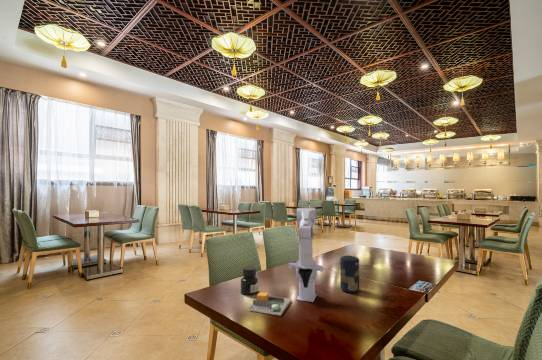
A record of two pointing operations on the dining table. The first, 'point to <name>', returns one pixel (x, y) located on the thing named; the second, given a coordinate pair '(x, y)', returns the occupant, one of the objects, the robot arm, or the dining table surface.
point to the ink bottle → (249, 281)
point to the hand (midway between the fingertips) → (305, 286)
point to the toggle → (262, 296)
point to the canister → (349, 273)
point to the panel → (266, 306)
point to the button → (275, 307)
